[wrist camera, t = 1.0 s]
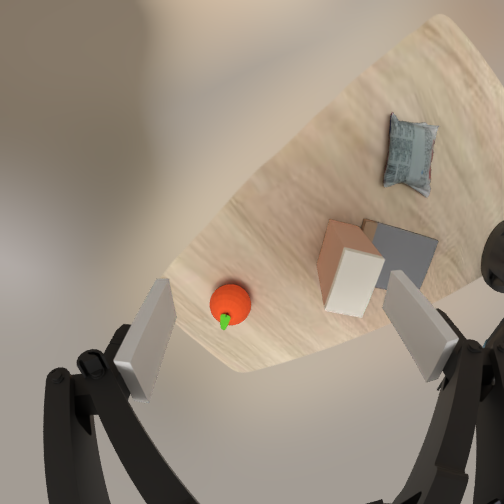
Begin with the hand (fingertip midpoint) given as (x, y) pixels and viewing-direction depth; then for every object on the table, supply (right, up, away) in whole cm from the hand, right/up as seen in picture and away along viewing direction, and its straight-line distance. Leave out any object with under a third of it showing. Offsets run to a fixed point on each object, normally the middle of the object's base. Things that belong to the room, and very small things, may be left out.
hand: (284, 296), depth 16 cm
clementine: (-5, -5, +34) cm, 35 cm away
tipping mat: (+23, +1, +27) cm, 36 cm away
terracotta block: (+12, +3, +28) cm, 31 cm away
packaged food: (+23, +18, +21) cm, 36 cm away
